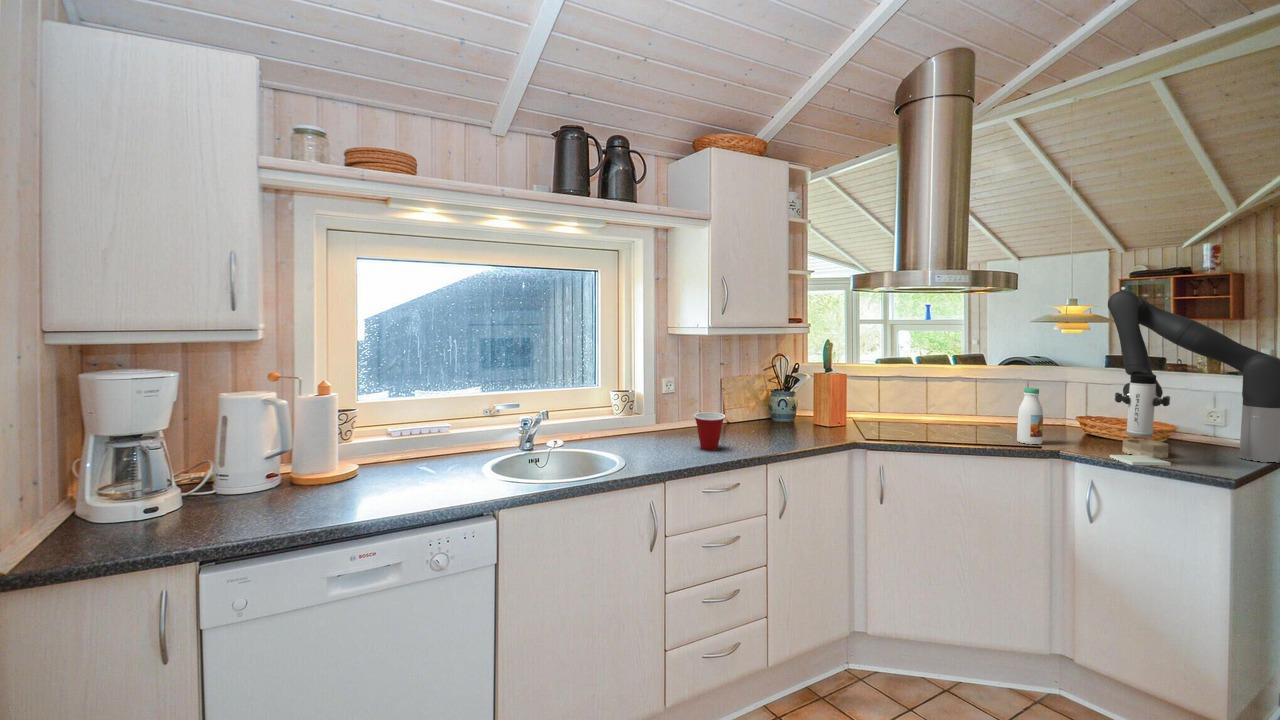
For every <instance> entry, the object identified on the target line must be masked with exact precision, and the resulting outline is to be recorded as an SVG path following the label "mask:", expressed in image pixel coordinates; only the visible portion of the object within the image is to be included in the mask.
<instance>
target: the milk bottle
mask: <svg viewBox="0 0 1280 720" xmlns="http://www.w3.org/2000/svg"><path fill="white" fill-rule="evenodd" d="M1023 395H1024V397H1023V399H1022V401H1021V404H1020V405H1019V407H1018V411H1017V429H1016V431H1017V432H1016V441H1018V442H1017V443H1019V442H1020V444H1023V443H1025V445H1032V444H1039V445H1042V444H1043V434H1044V433H1043V429H1044V428H1043V427H1044V409H1043V406H1042V404H1041V402H1040V399H1039V395H1040V388H1037V387H1024V388H1023Z"/></svg>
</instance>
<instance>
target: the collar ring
mask: <svg viewBox="0 0 1280 720" xmlns="http://www.w3.org/2000/svg"><path fill="white" fill-rule="evenodd" d="M1169 446H1170V445H1169V444H1168V442H1167V443H1166V442H1163V441H1157V440H1152V439H1142V438H1125V439H1124V438H1123V440H1122V451H1121V452H1122V453H1123V452H1124V453H1123V454H1126V453H1127V454H1126V455H1129V454H1132V455H1146V456H1150V457H1153V458H1157V459H1167V458H1169Z"/></svg>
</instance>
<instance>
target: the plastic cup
mask: <svg viewBox="0 0 1280 720" xmlns="http://www.w3.org/2000/svg"><path fill="white" fill-rule="evenodd" d="M693 417H694V419H695V423H696V428H697V434H698V439H699V446H700V449H701V450H704V451H715V450H718V447H719V442H720V439H721V433H722V429H723V428H722V427H723V423H724V419H725V418H726V415H725V414H723V413H720V412H716V411H715V412H712V411H703V412H701V411H700V412H696V413H694V415H693Z"/></svg>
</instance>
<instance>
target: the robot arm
mask: <svg viewBox="0 0 1280 720" xmlns="http://www.w3.org/2000/svg"><path fill="white" fill-rule="evenodd" d="M1107 300H1108V301H1107V309H1108V310H1109V312H1110V315H1111V317H1112V318H1113V321H1114V324H1115V327H1116V330H1117V333H1118V338H1119V342H1120V344H1119V345H1120V349H1121V350H1120V351H1121V355H1122V361H1123V366H1124V369H1125V374H1127V375H1129V376H1131V373H1132V372H1133V371H1140V372H1143V373H1150V374H1154V373H1153V370H1152V367H1151V364H1150V363H1151V362H1150V358H1149V357H1150V356H1149V354H1148V353H1149V352H1148V348H1147V346H1146V342H1145V341H1144V338H1143V335H1142V332H1141V327H1140V325H1142V326H1143V327H1145V328H1147V329H1150V330H1151V331H1153V332H1154V333H1156V334H1157V335H1159V336H1161V337H1162V338H1164V339H1165V340H1166V341H1169V342H1171V343H1172V344H1174V345H1176V346H1178V347H1181V348H1183V349H1185V350H1186V351H1189V352H1190V353H1194V354H1196V355H1200V356H1203V357H1205V358H1208V359H1212V360H1215V361H1218V362H1221V363H1223V364H1225V365H1227V366H1230V367H1231V368H1233V369H1235V370H1236V371H1239V372H1240V373H1242V388H1241V389H1242V391H1241V397H1242V405H1241V406H1242V408H1241V424H1240V436H1239V437H1240V438H1239V440H1240V441H1239V456H1238V458H1239V459H1241V458H1242V460H1245V459H1246V460H1247V461H1250V460H1253V461H1252V462H1257V461H1260V462H1259V463H1267V462H1276V463H1275V464H1277V463H1280V358H1279V357H1277V356H1274V355H1270V354H1268V353H1264V352H1261V351H1260V350H1259V351H1258V350H1256V349H1254V348H1250V347H1248V346H1245V345H1243V344H1241V343H1239V342H1237V341H1235V340H1233V339H1232V338H1230V337H1228V336H1226V335H1225V334H1223V333H1221V332H1219V331H1217V330H1215V329H1213V328H1211V327H1209V326H1208V325H1205V324H1202V323H1201V322H1198V321H1197V320H1193V319H1191V318H1188V317H1187V316H1183V315H1180V314H1176V313H1173V312H1170V311H1166V310H1164V309H1162V308H1159V307H1158V306H1156V305H1153V304H1151V303H1150V302H1148V301H1147V300H1145V299H1143V298H1141V297H1140V296H1139V295H1138V294H1136V293H1134V292H1132V291H1129V290H1120V291H1117V292H1114V293H1113V294H1112V295H1111V296H1110V297H1109V299H1107ZM1155 386H1156V392H1155V404H1154V407H1160V406H1161V405H1162V407H1163V406H1164V407H1168V406H1170V403H1171V396H1169V395H1166V396H1163V393H1164V392H1163V388H1162V387H1161V384H1160V383H1159V382H1158V380H1157V379H1156V385H1155ZM1129 388H1130V382H1127V383H1126V384H1124V386H1123V389H1122V393H1120V392H1115V393H1114V401H1115V402H1116V403H1118V404H1119V403H1123V404H1126V405H1128V404H1129ZM1246 460H1245V461H1246Z"/></svg>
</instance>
